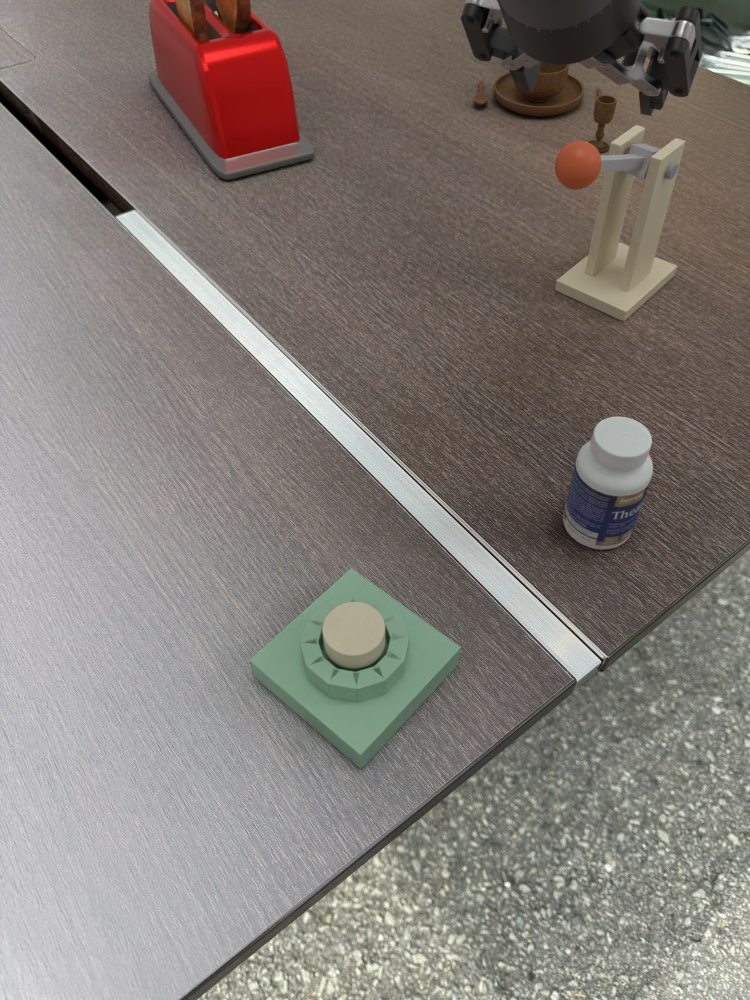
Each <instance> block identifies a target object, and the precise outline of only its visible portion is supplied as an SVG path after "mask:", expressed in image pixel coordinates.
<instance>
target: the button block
mask: <svg viewBox="0 0 750 1000" xmlns="http://www.w3.org/2000/svg"><path fill="white" fill-rule="evenodd" d="M348 602H361V603H365V604H368V605H370V606H372V607H373V608H375V609H376V610H377V611H378V612H379V613H380V614H381V616H382V618H383V620H384V623H385V648H384V651H383V653H382V654H381V656H380V657H379V658H378V659H377V660H376V661H375V662H374V663H372V664H371V665H369V666H366V667H363V668H358V669H349V668H344V667H342V666H339V665H337V664H336V663H334V662H333V661H332V660H331V659H330V658H329V657H328V655H327V653H326V651H325V648H324V641H323V632H322V627H323V623H324V620H325V618H326V616H327V615H328V614H329V613H330V612H331V611H332V610H333V609H334V608H335V607H337V606H339V605H341V604H344V603H348ZM461 651H462V646H460V645H458V643H456V642H454V641H453V640H452V639H450V638H449V637H448V636H446V635H445V634H444V633H442V632H441V631H440V630H438V629H436V628H435V627H434V626H432V625H431V624H430V623H428V622H427V621H426V620H424V619H423V618H422V617H420V616H419V615H417V614H416V613H414V611H412V610H410V609H409V608H408V607H407V606H404V605H403V604H402V603H401V602H400V601H398V600H396V599H395V598H394V597H392V596H391V594H388V593H387V592H386V591H384V590H383V589H381V588H380V587H379V586H377V585H376V584H374V583H373V582H372V581H371V580H369V579H368V578H367V577H365V576H363V575H362V574H360V573H359V572H358V571H356V570H355V569H354V568H352V567H350V568H349V569H348V570H347V571H346V572H344V574H343V575H342V576H341V577H339V578H338V579H337V580H336V581H335V582H334V583H333V584H332V585H330V586H329V587H328V588H327V589H326V590H325V591H324V592H323V593H322V594H321V595H319V596H318V597H317V598H316V599H315V600H314V601H313V602H312V603H311V604H310V605H308V606H307V607H306V608H305V609H303V611H302V612H301V613H299V614H298V615H297V616H296V617H295V618H294V619H293V620H291V621H290V623H288V624H287V625H286V626H285V627H284V628H283V629H282V630H281V631H280V632H278V633H277V634H276V635H275V636H274V637H273V638H272V639H270V641H268V642H267V643H266V644H265V645H264V646H263V647H262V648H261V649H260V650H259V651H258V652H256V653H255V654H254V655H253V656H252V657H251V658H250V659H249V660H248V662H249V665H250V668H251V669H250V670H251V673H252V676H253V678H255V679H256V680H257V681H258V682H259V683H260V684H262V685H263V686H264V687H265V688H266V689H267V690H268V691H270V692H271V694H273V695H274V696H275V697H276V698H277V699H279V700H280V701H281V702H282V703H284V704H285V705H286V706H287V707H288V708H289V709H291V710H292V711H293V712H294V713H295V714H296V715H297V716H299V717H300V718H301V719H302V720H303V721H304V722H306V723H307V724H308V725H309V726H310V727H311V728H313V729H314V730H315V731H316V732H317V733H318V734H320V735H321V736H322V737H323V738H324V739H325V740H326V741H328V742H329V743H330V744H331V745H332V746H334V747H335V748H336V749H337V750H338V751H339V752H341V754H343V755H344V756H345V757H346V758H347V759H349V760H350V761H351V762H352V763H353V764H355V765H356V766H357V767H358V768H359V769H361V770H363V769H364V768H365V767H366V765H367V764H369V762H370V761H371V760H372V759H373V758H374V757H375V756H376V755H377V754H378V753H379V751H380V750H381V749H382V748H383V747H384V746H385V745H386V744H387V742H389V741H390V739H391V738H392V737H393V736H394V735H395V734H396V733H397V732H398V731H399V729H401V728H402V727H403V726H404V725H405V724H406V722H408V720H409V719H410V718H411V717H412V716H413V714H414V713H415V712H416V711H417V710H418V709H419V708H420V707H421V706H422V705H423V704H424V703H425V702H426V700H428V698H430V696H431V695H432V694H433V693H434V692H435V691H436V690H437V689H438V687H440V685H441V684H442V683H443V682H444V681H445V680H446V679H447V678H448V677H449V676H450V675H451V673H453V671H454V670H455V669H456V668H457V667H458V666H459V665H460V659H461V654H462V653H461Z"/></svg>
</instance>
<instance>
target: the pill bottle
mask: <svg viewBox="0 0 750 1000" xmlns="http://www.w3.org/2000/svg"><path fill="white" fill-rule="evenodd" d="M652 444H653V437H652V434H651V432H650V431H649V429H648V428H647V427H646V426H645V425H644V424H642V423H641V422H639V421H637V419H633V418H630V417H626V416H620V415H618V416H617V415H616V416H611V417H606V418H604V419H601V421H599V422H598V423H596V426H595V427H594V429H593V433H592V435H591V438H590V439H589V440H588V441H586V443H585V444H584V445H582V447H581V448H580V449H579V450H578V453H577V457H576V460H575V463H574V467H573V472H572V476H571V480H570V484H569V489H568V492H567V497H566V500H565V504H564V509H563V515H562V522H563V526H564V528H565V531H566V532H567V533H568V535H569V536H571V539H574V540H575V542H577V543H578V544H580V545H583V546H584V547H587V548H590V549H594V550H611V549H615V548H618V547H621V546H622V545H623V544H625V543H626V542H627V541H628V540H629V538H630V537H631V535H632V533H633V530H634V529H635V526H636V523H637V520H638V517H639V514H640V512H641V509H642V506H643V503H644V500H645V498H646V494H647V492H648V489H649V487H650V484H651V481H652V478H653V473H654V463H653V460H652V458H651V456H650V451H651V448H652Z"/></svg>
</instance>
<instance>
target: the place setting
mask: <svg viewBox="0 0 750 1000" xmlns="http://www.w3.org/2000/svg"><path fill="white" fill-rule="evenodd" d="M569 69H570V64H568V65H552V64H547V63H543V62H541V69H540V72H539V75H538V78H537V81H536V84H535V88H534V90H533V92H532V93H529V92H523V91H522V90H521V88H520V85H519V83H516V82H515V81H514V80H513V79H512V76H511V74H510V71H508V72H505V73H503V74H501V75H500V76H498V77H497V78H496V79H495V80H494V83H493V95H494V97H495V99H496V100H497V102H498V103H499V104H501V106H503V107H504V108H506V109H508V110H509V111H511V112H514V113H515V114H516V113H517V114H520V115H523V116H528V117H537V118H539V117H540V118H541V117H542V118H543V117H544V118H545V117H552V116H558V115H561V114H564V113H566V112H567V113H568V112H570V111H571V110H573V109H575V108H576V107H577V106H578V105H579V104H580V103H581V102H582V100H583V99H584V95H585V88H586V87H585V85H584V83H583V82H582V80H580V79H579V78H578V77H576V76H574V75H572V74H570V73H569ZM488 100H489V98H488V96H486V95H485V94H484V81H483V80H479V82H478V94H477V95H475V96H474V97H473V102H474V104H476V105H477V106H484V105H486V104H487V102H488ZM617 101H618V99H617V98H616V97H615V96H613V95H610V94H602V90H601V88H599V87H597V97H596V99H595V102H594V108H593V120H594V122H595V123H596V124H597V130H596V132H595V134H594V137H595V140H591V141H587V142H588V143H591V144H592V145H594V146H595V147H596V149H597V150H598V152H599V154H603V153H606V152H609V150H610V145H609V143H607V142H606V141H603V139H604V137H605V127H606V125H609V123H611V122H612V120H613V119H614V115H615V112H616V108H617Z"/></svg>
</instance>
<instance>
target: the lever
mask: <svg viewBox="0 0 750 1000" xmlns="http://www.w3.org/2000/svg"><path fill="white" fill-rule="evenodd" d="M588 142H589V141H585V140H575V141H572V142H569V143H568V144H566V145H565V146H564V147H562V149H560V151H559V152H558V154H557V156H556V158H555V162H554V172H555V177H556V179H557V180H558V182H559V183H560V184H561V185H562V187H563V186H564V187H565V188H567V189H568V190H569V189H570V190H575V191H577V190H583V189H585V188H588V187H589V186H591V185H592V184H593V183H595V181H596V180H597V179H598V178H599V176H600V173H605V172H611V171H623V172H625V173H628V174H631V175H634V177H637V178H639V179H641V180H646V176H647V172H648V167H649V163H650V159H651V156H653V155H654V154H655V153H657V152H658V151H659V150H661V149H662V148H659V147H656V146H653V145H650V144H648V143H642V144H632V145H631V148H630V151H629V154H623V155H609V154H605V155H601V153H599V152H598V150H597V149H596V147H595V146H594V145H592V144H591V143H588Z"/></svg>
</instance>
